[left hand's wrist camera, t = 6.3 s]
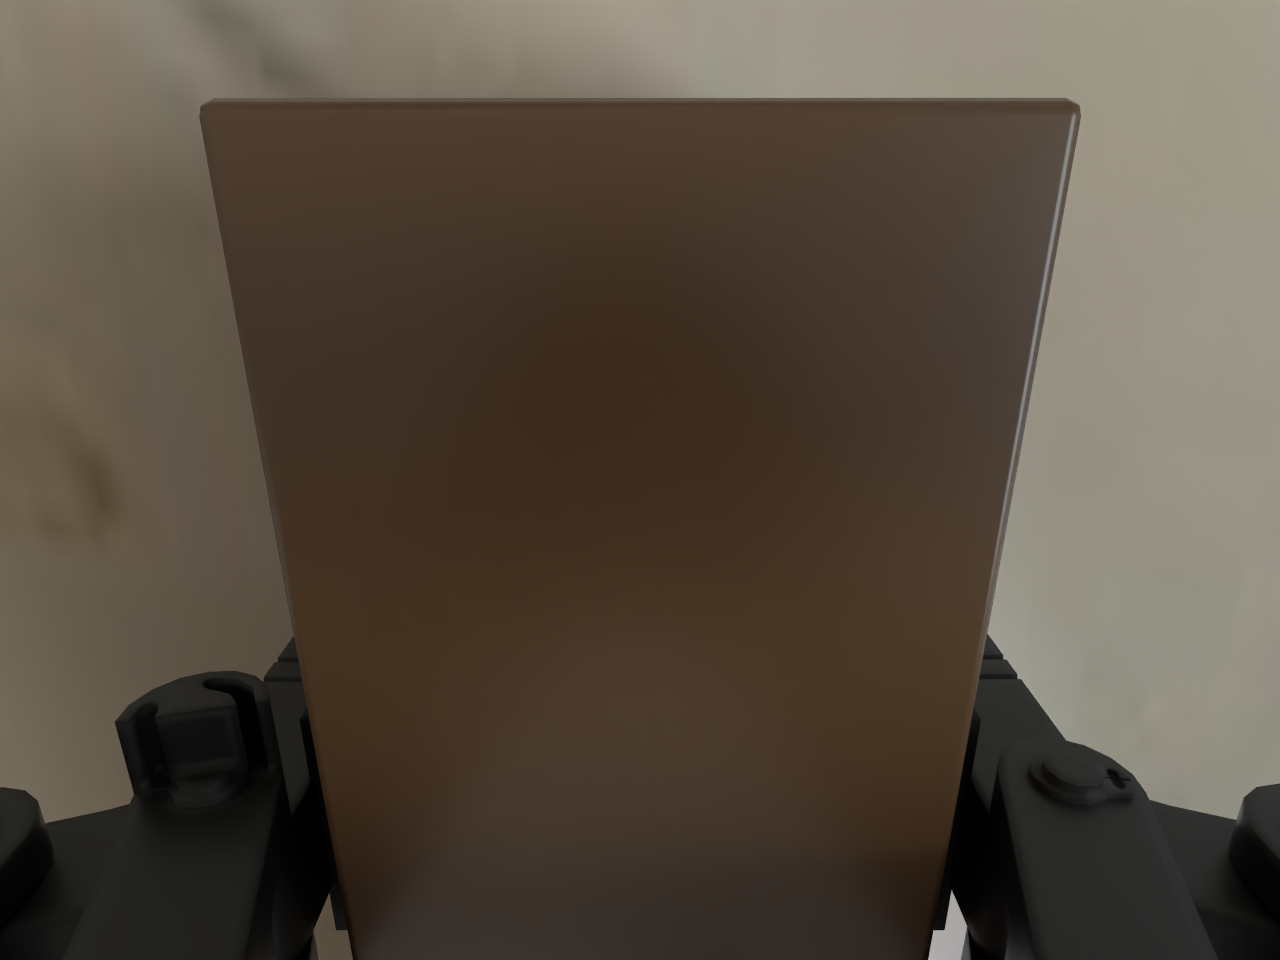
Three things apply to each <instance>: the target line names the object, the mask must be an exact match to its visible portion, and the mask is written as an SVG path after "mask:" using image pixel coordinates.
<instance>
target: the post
mask: <svg viewBox="0 0 1280 960" xmlns="http://www.w3.org/2000/svg"><path fill="white" fill-rule="evenodd" d="M1080 118H1081V114H1080V106H1079V105H1078V104H1077V103H1075V102H1073V101H1071V100H1069V99H1067V98H419V99H212V100H210V101H208V102H206V103H204V104H203V105H202V106H201V109H200V122H201V128H202V133H203V139H204V144H205V150H206V155H207V161H208V166H209V172H210V177H211V183H212V188H213V194H214V199H215V204H216V210H217V215H218V221H219V226H220V232H221V237H222V243H223V248H224V254H225V259H226V265H227V270H228V276H229V281H230V287H231V292H232V298H233V303H234V309H235V314H236V320H237V325H238V331H239V336H240V342H241V347H242V353H243V358H244V364H245V369H246V375H247V380H248V386H249V391H250V397H251V402H252V407H253V413H254V418H255V424H256V429H257V435H258V440H259V446H260V451H261V457H262V462H263V468H264V473H265V479H266V484H267V490H268V495H269V501H270V506H271V512H272V517H273V523H274V528H275V534H276V539H277V545H278V550H279V556H280V561H281V567H282V572H283V578H284V583H285V589H286V594H287V600H288V605H289V610H290V616H291V621H292V627H293V632H294V638H295V643H296V649H297V654H298V660H299V665H300V671H301V676H302V682H303V687H304V693H305V698H306V704H307V709H308V715H309V720H310V726H311V731H312V737H313V742H314V748H315V753H316V759H317V764H318V770H319V775H320V781H321V786H322V792H323V797H324V803H325V808H326V813H327V819H328V824H329V830H330V835H331V841H332V846H333V852H334V857H335V863H336V868H337V874H338V879H339V885H340V890H341V896H342V901H343V907H344V912H345V918H346V923H347V929H348V934H349V940H350V945H351V951H352V956H353V960H928V957H929V951H930V945H931V940H932V934H933V929H934V923H935V918H936V912H937V907H938V901H939V896H940V890H941V885H942V879H943V874H944V868H945V863H946V857H947V852H948V846H949V841H950V835H951V830H952V824H953V819H954V813H955V808H956V802H957V797H958V791H959V786H960V780H961V774H962V769H963V763H964V758H965V752H966V747H967V741H968V736H969V730H970V725H971V719H972V714H973V708H974V703H975V697H976V692H977V686H978V681H979V675H980V670H981V664H982V659H983V653H984V648H985V642H986V637H987V631H988V626H989V620H990V615H991V609H992V604H993V598H994V592H995V587H996V581H997V576H998V570H999V565H1000V559H1001V554H1002V548H1003V543H1004V537H1005V532H1006V526H1007V521H1008V515H1009V510H1010V504H1011V499H1012V493H1013V488H1014V482H1015V477H1016V471H1017V466H1018V460H1019V455H1020V449H1021V444H1022V438H1023V433H1024V427H1025V421H1026V416H1027V410H1028V405H1029V399H1030V394H1031V388H1032V383H1033V377H1034V372H1035V366H1036V361H1037V355H1038V350H1039V344H1040V339H1041V333H1042V328H1043V322H1044V317H1045V311H1046V306H1047V300H1048V295H1049V289H1050V284H1051V278H1052V273H1053V267H1054V262H1055V256H1056V250H1057V245H1058V239H1059V234H1060V228H1061V223H1062V217H1063V212H1064V206H1065V201H1066V195H1067V190H1068V184H1069V179H1070V173H1071V168H1072V162H1073V157H1074V151H1075V146H1076V140H1077V135H1078V129H1079V124H1080Z"/></svg>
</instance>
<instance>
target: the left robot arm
mask: <svg viewBox="0 0 1280 960" xmlns="http://www.w3.org/2000/svg"><path fill="white" fill-rule="evenodd" d="M115 725H116V728H117V732H118V736H119V739H120V743H121V747H122V751H123V754H124V758H125V762H126V765H127V769H128V773H129V777H130V780H131V784H132V788H133V791H134V796H133V798H132V800H131V803H130V804H128V805H124V806H121V807H117V808H114V809H110V810H105V811H101V812H96V813H92V814H87V815H82V816H78V817H73V818H69V819H64V820H59V821H55V822H50V823H46V824H45V822H44V819H43V816H42V812H41V809H40V806H39V803H38V801H37V800H36V799H35V798H33V797H32V796H31V795H30V794H29V793H27V792H26V791H24V790H17V789H11V788H4V787H1V788H0V960H318V954H317V947H316V942H315V936H314V931H313V930H314V927H315V925H316V923H317V920H318V918H319V915H320V913H321V911H322V908H323V906H324V904H325V901H326V899H327V897H328V894H329V892H330V898H331V903H332V909H333V915H334V921H335V926H336V930H348V929H347V923H346V918H345V912H344V907H343V901H342V896H341V890H340V885H339V879H338V874H337V868H336V863H335V857H334V852H333V846H332V841H331V835H330V830H329V824H328V819H327V813H326V808H325V803H324V797H323V792H322V786H321V781H320V775H319V770H318V764H317V759H316V753H315V748H314V742H313V737H312V731H311V726H310V720H309V715H308V709H307V704H306V698H305V693H304V687H303V682H302V676H301V671H300V665H299V660H298V654H297V649H296V643H295V638H294V637H293V638H292V639H291V641H290V642H289V644H288V645H287V646H286V648H285V649H284V650H283V652H282V653H281V654H280V656H279V657H278V663H274V664H273V665H272V667H271V668H270V670H269V671H268V672H267V674H266V675H265V676H264V682H262V681H261V680H260V679H259V678H257V677H256V676H254V675H250V674H246V673H241V672H237V671H220V672H206V673H201V674H197V675H193V676H188V677H184V678H180V679H177V680H175V681H172V682H170V683H167V684H165V685H163V686H160V687H158V688H155V689H153V690H151V691H150V692H148V693H147V694H145V695H144V696H142V697H140V698H139V699H137V700H136V701H134V702H133V703H131V704H130V705H129V706H128V707H127V708H126V709H125V711H124V712H123V713H122V714H121V715H120V716H119V718H118V719H117V720H116V721H115ZM951 890H952V891H953V894H954V896H955V898H956V901H957V903H958V905H959V908H960V910H961V912H962V915H963V917H964V919H965V922H966V924H967V931H966V936H965V942H964V947H963V952H962V957H961V960H1280V784H1274V785H1268V786H1261V787H1256V788H1255V789H1254V790H1253V791H1251V792H1250V793H1249V794H1248V795H1246V796H1245V797H1244V799H1243V802H1242V805H1241V809H1240V812H1239V815H1238V818H1237V820H1233V819H1229V818H1224V817H1219V816H1215V815H1210V814H1206V813H1201V812H1196V811H1192V810H1187V809H1182V808H1178V807H1173V806H1169V805H1166V804H1162V803H1159V802H1155V801H1151V800H1149V799H1148V796H1147V794H1146V792H1145V791H1144V790H1143V788H1142V787H1141V785H1140V784H1139V783H1138V781H1137V780H1136V778H1135V777H1134V776H1133V774H1131V773H1130V772H1129V771H1127V770H1126V769H1125V768H1123V767H1122V766H1121V765H1120V764H1118V763H1117V762H1116V761H1114V760H1113V759H1112V758H1110V757H1108V756H1106V755H1104V754H1101V753H1099V752H1097V751H1095V750H1093V749H1091V748H1089V747H1087V746H1084V745H1081V744H1077V743H1073V742H1069V741H1066V740H1065V738H1064V737H1063V736H1062V734H1061V733H1060V732H1059V730H1058V729H1057V728H1056V726H1055V725H1054V724H1053V722H1052V721H1051V719H1050V718H1049V717H1048V715H1047V714H1046V713H1045V711H1044V710H1043V709H1042V707H1041V706H1040V705H1039V703H1038V702H1037V700H1036V699H1035V698H1034V696H1033V695H1032V694H1031V692H1030V691H1029V690H1028V688H1027V687H1026V686H1025V684H1024V683H1023V681H1022V680H1021V679H1018V678H1017V673H1016V672H1015V671H1014V669H1013V668H1012V667H1011V665H1010V664H1009V662H1008V661H1007V660H1003V654H1002V653H1001V652H1000V650H999V649H998V648H997V646H996V645H995V643H994V642H993V641H992V639H991V638H990V637H989V635H988V634H987V637H986V642H985V648H984V653H983V659H982V664H981V670H980V675H979V681H978V686H977V692H976V697H975V703H974V708H973V714H972V719H971V725H970V730H969V736H968V741H967V747H966V752H965V758H964V763H963V769H962V774H961V780H960V786H959V791H958V797H957V802H956V808H955V813H954V819H953V824H952V830H951V835H950V841H949V846H948V852H947V857H946V863H945V868H944V874H943V879H942V885H941V890H940V896H939V901H938V907H937V912H936V918H935V923H934V929H933V930H945V924H946V918H947V912H948V907H949V901H950V895H951Z"/></svg>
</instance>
